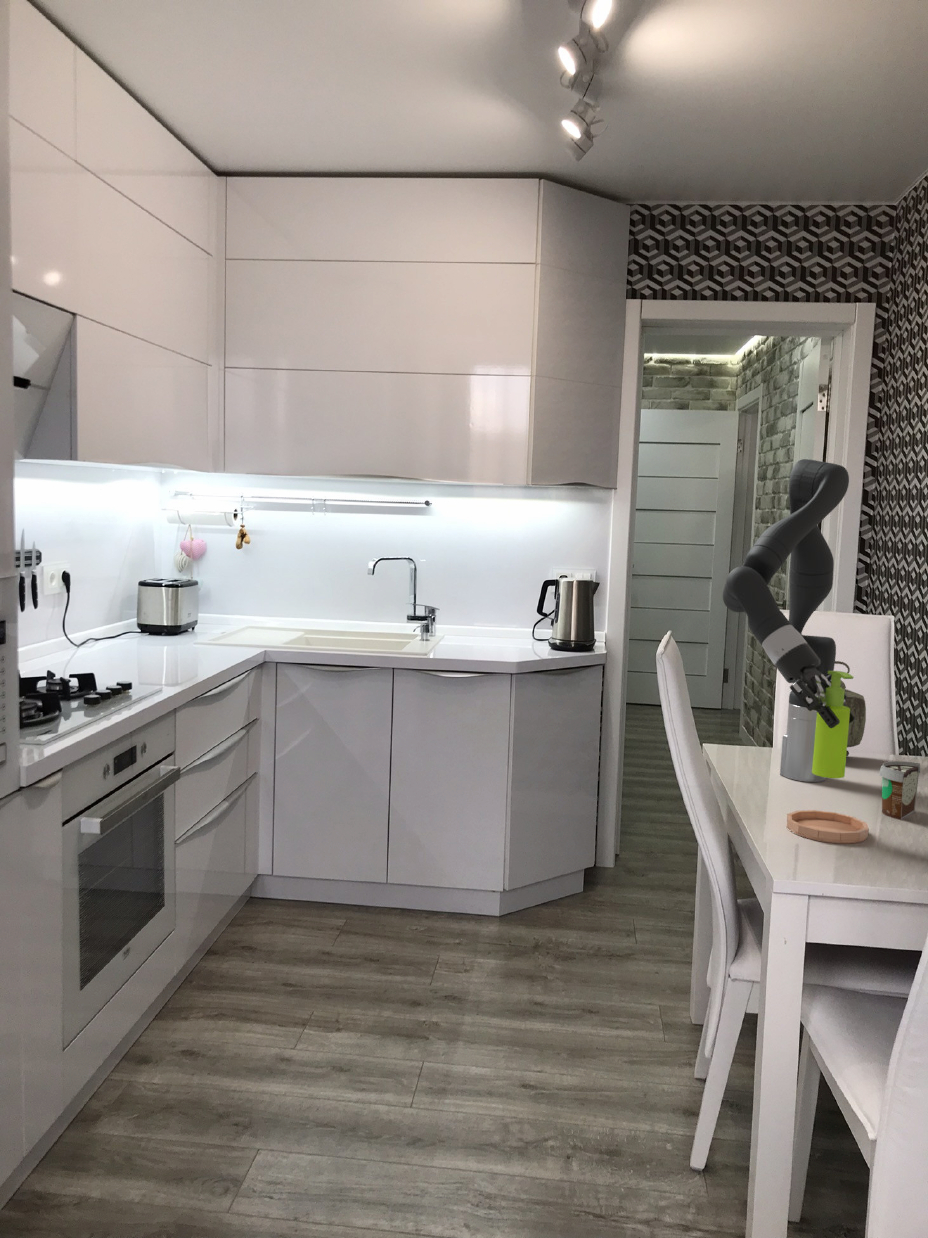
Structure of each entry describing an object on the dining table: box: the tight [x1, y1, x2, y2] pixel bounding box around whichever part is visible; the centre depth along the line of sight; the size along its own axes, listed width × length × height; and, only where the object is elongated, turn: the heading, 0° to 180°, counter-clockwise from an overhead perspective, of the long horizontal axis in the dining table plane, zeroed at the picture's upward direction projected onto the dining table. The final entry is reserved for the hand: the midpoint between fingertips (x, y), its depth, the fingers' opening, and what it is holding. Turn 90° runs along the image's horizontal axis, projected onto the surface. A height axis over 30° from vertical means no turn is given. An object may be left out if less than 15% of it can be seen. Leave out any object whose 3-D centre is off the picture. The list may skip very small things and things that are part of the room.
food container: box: [878, 760, 921, 821], centre depth 213 cm, size 12×6×10 cm, turn 141°
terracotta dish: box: [786, 809, 870, 844], centre depth 197 cm, size 15×15×2 cm
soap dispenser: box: [812, 670, 854, 779], centre depth 195 cm, size 6×7×20 cm
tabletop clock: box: [835, 660, 867, 757], centre depth 260 cm, size 14×9×25 cm, turn 94°
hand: (843, 723), depth 194 cm, fingers closed on soap dispenser, 6 cm apart
